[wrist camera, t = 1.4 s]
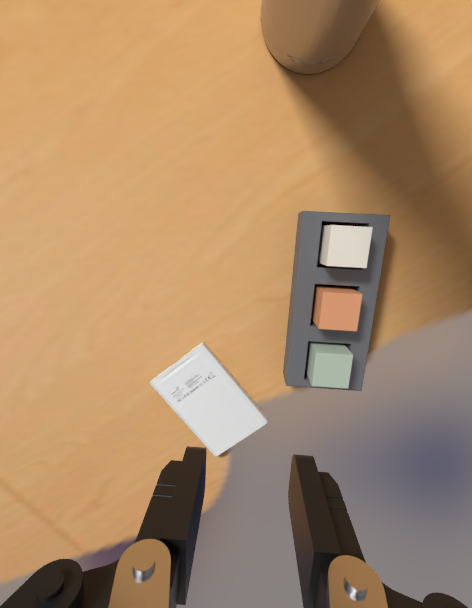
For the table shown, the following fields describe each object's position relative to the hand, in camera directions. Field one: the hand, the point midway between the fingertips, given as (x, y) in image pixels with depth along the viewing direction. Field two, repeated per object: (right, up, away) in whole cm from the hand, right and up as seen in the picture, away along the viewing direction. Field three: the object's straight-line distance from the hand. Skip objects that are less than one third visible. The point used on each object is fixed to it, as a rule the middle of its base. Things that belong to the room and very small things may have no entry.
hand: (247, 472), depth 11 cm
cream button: (+10, +12, +19) cm, 25 cm away
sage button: (+9, 0, +22) cm, 24 cm away
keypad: (+10, +7, +22) cm, 25 cm away
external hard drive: (-4, -5, +26) cm, 27 cm away
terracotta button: (+10, +6, +20) cm, 23 cm away
